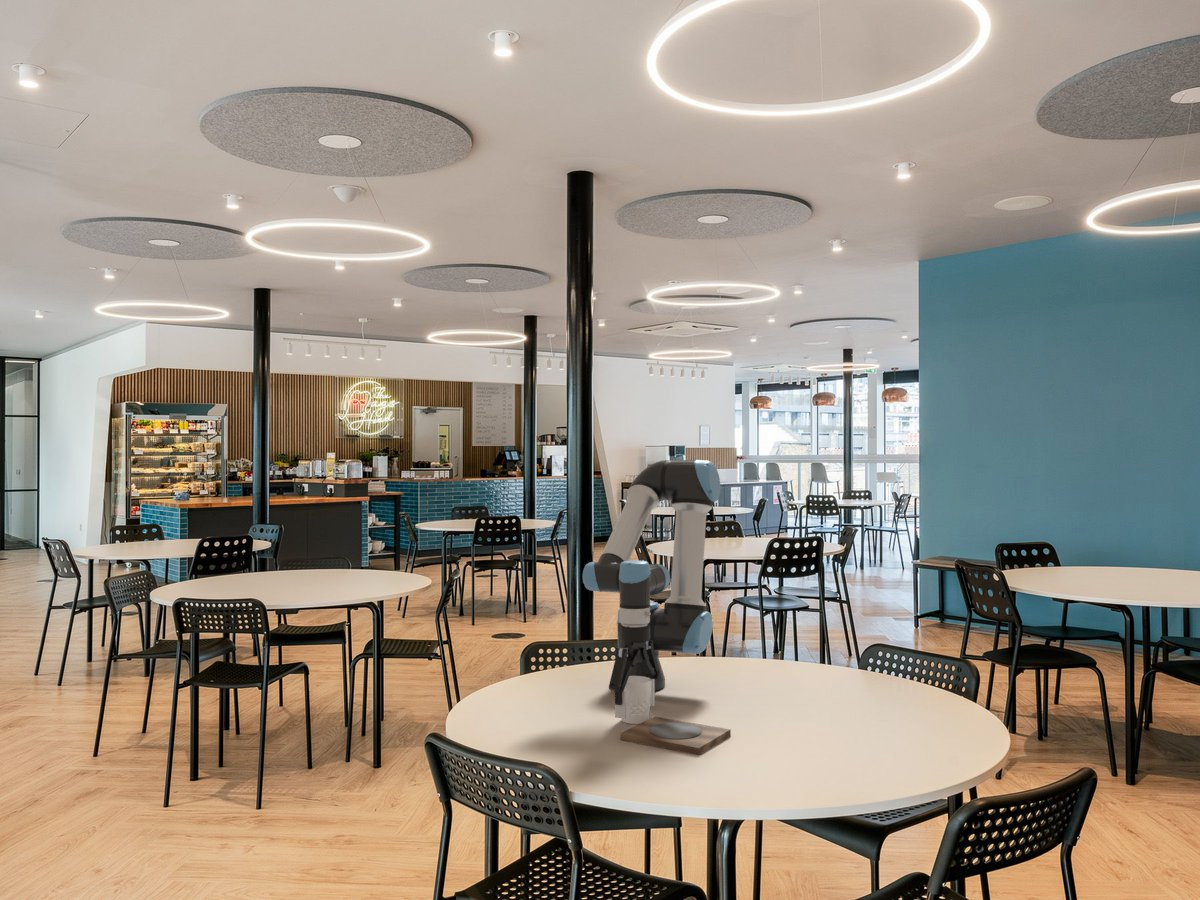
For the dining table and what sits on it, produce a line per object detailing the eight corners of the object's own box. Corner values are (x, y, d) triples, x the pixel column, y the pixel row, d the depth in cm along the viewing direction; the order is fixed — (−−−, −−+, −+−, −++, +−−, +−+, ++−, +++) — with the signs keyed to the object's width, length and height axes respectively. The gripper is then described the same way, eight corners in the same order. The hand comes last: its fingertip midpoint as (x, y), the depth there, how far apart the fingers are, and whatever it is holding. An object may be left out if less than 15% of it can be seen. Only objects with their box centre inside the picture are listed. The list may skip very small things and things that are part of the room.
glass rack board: (655, 722, 217) (655, 715, 217) (730, 736, 206) (730, 728, 206) (620, 739, 204) (620, 731, 204) (699, 755, 193) (698, 746, 193)
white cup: (629, 714, 224) (628, 674, 224) (657, 718, 220) (656, 678, 220) (613, 722, 217) (613, 681, 218) (641, 727, 213) (641, 685, 214)
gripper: (621, 634, 207) (621, 726, 206) (672, 618, 228) (673, 701, 227) (594, 630, 211) (594, 721, 210) (647, 615, 232) (647, 697, 231)
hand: (635, 711), depth 219 cm, fingers open, 13 cm apart
